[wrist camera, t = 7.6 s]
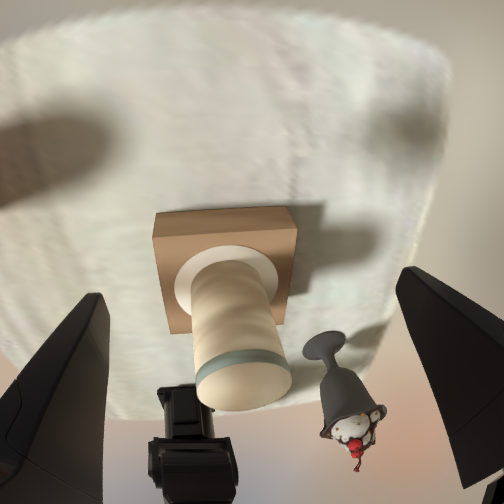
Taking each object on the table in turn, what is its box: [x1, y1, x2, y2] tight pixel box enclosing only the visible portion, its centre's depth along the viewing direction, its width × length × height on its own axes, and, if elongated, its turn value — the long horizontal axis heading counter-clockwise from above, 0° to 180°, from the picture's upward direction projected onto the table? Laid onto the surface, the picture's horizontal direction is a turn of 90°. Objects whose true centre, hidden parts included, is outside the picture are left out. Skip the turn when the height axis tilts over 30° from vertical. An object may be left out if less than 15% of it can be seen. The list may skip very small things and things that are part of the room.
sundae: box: [302, 331, 387, 472], centre depth 28 cm, size 7×7×15 cm
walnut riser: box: [152, 206, 298, 334], centre depth 23 cm, size 9×9×3 cm
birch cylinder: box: [190, 260, 292, 411], centre depth 19 cm, size 5×5×8 cm
